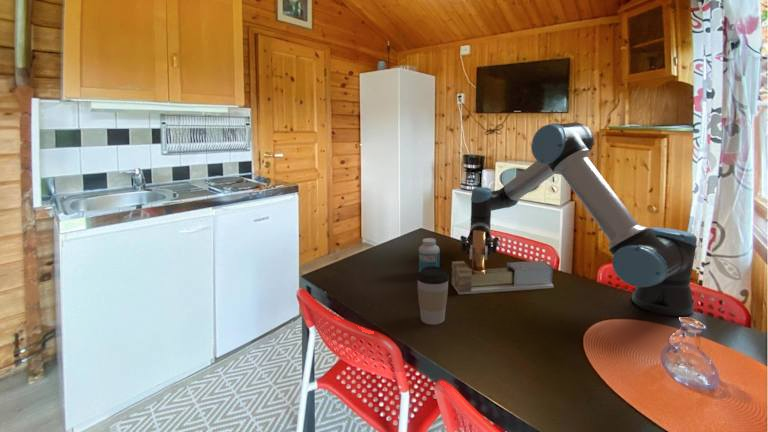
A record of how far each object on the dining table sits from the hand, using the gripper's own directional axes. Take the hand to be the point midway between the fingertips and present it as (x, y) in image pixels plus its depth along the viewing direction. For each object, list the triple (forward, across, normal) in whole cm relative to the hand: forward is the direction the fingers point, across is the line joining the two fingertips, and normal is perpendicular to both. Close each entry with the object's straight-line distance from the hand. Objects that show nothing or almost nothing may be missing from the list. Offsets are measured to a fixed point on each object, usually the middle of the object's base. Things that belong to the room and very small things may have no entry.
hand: (478, 255), depth 130 cm
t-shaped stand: (-7, -4, -12) cm, 14 cm away
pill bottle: (-13, +17, -13) cm, 25 cm away
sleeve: (-11, -17, -13) cm, 24 cm away
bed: (-8, -8, -13) cm, 17 cm away
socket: (-3, +5, -13) cm, 14 cm away
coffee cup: (+19, +12, -13) cm, 26 cm away
